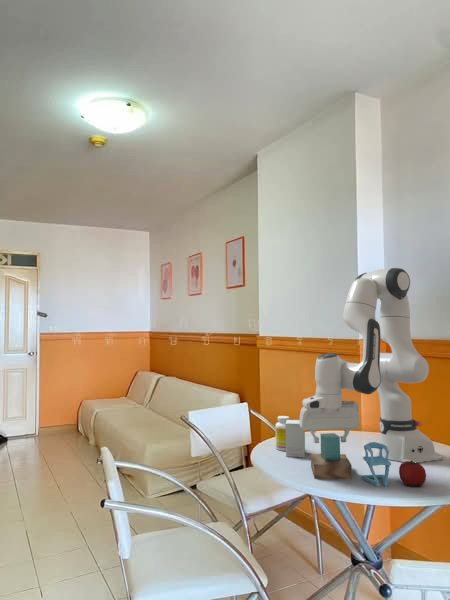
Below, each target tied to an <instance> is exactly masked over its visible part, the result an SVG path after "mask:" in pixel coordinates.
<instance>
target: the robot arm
mask: <svg viewBox="0 0 450 600" xmlns="http://www.w3.org/2000/svg"><path fill="white" fill-rule="evenodd" d="M410 287H411V278H410V276H409V274H408V272H407V271H406V270H405V269H404V268H400V267H399V268H398V267H392V268H384V269H383V268H382V269H377V270H373V271H370V272H364V273H361V274H359V275H358V276H357V277H356V278H355V280H353V282H352V284H351V285H350V288H349V290H348V292H347V295H346V299H345V303H344V308H343V312H342V313H343V314H342V316H343V321H344V323H345V325H346V326H348V327H349V328H350V329H351V330H353V331H355V332H357V333H359V334H360V335H361V336H362V339H363V341H362V342H363V345H362V346H363V347H362V360H361V362H360V363H356V362H348V361H346V360H344V359H342V358H341V357H340V356H339V354H338V353H335V352H334V353H333V352H331V353H323V354H320V355H318V356H317V357H316V360H315V361H316V362H315V368H314V369H315V370H314V377H315V378H314V381H315V383H316V388H315V395H312V396H309V397H307V398H303V400H301V401H302V402H301V404H302V406H303V407H301V409H300V413H299V420H300V427H301V428H302V429H303V430H305V431H309V433H310V434H311V435H312V437H313V443H314V444H319V443H320V437H318V436H316V435H315V434H316V431H317V430H319V431H321V430H322V431H325V430H327V431H328V430H343V434H342V435H340V436H339V437H340V443H347V437H348V435H349V434H350V430H354V429H355V430H358V429H359V427H361V424H360V415H359V411H360V408H359V407H360V405H359V404H358V402H356V401H354V400H343V392H342V390H347V391H351V392H356V393H357V392H358V393H360V394H364V395H371V394H374V392H376V391H377V394H378V398H379V405H380V407H379V408H380V417H379V431H380V439H379V443H380V444H383V445H385V446H387V448H388V451H389V455H388V460H391V461H396V462H401V463H404V462H406V461H408V462H410V461H413V462H417V463H424V462H423V461H427V462H431V461H430V460H436V461H438V460H437V459H442V460H443V456H442V455H441V453H439V452H438V451H436V450H435V446H434V443H433V441H432V440H431V438H429V436H427V435H425V434H424V433H423V432H421V431H420V430H419V429H418V428H417V427H419V428H421V427H422V426H423V424H422V421H420V420H416V419H414V418H413V415H412V400H411V398H410V396H409V395H408V394H407V393H405V392H404V391H403V390H402V389H401V387H400V385H399V384H398V383H401V384H418V383H422V382H424V381H425V380H426V379H427V378H428V376H429V373H430V368H429V367H430V366H429V363H428V362H427V360H426V359H425V358H424V357H423V356H422V355H421V354H420V353H419V352H418V351H417V350H416V348H415V346H414V344H413V341H412V335H411V313H410V312H411V311H410V310H411V309H410V303H409V297H408V295H407V294H408V292H409V290H410ZM378 300H379V301H380V308H379V309H380V310H379V322H378V321H377V319H376V310H377V304H378ZM381 340H382V341H384V343H386V344H388V345H389V347H390V349H391V352H381ZM379 452H380V449H378V451H377V456H379ZM386 454H387V453H386V451H385V449H382V456H383V457H384V458H385V457H386Z"/></svg>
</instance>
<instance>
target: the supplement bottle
mask: <svg viewBox="0 0 450 600" xmlns="http://www.w3.org/2000/svg"><path fill="white" fill-rule="evenodd" d="M286 420H290V417H289V416H288V415H287V416H286V415H278V416H277V421H278V422H276V423H275V425H274V426H275V448H276V450H278V451H285V452H286Z"/></svg>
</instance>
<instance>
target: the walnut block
mask: <svg viewBox="0 0 450 600" xmlns="http://www.w3.org/2000/svg"><path fill="white" fill-rule="evenodd" d="M310 468H311V472H312V475H313V477H314V479H317V480H353V472H352V471H353V469H352V468H353V467H352V463H351V462H350V460H349V458H348V456H347V455H346V454H345V453H340V461H331V462H326V461H325V460H324V459H322V458H321V453H310Z"/></svg>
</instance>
